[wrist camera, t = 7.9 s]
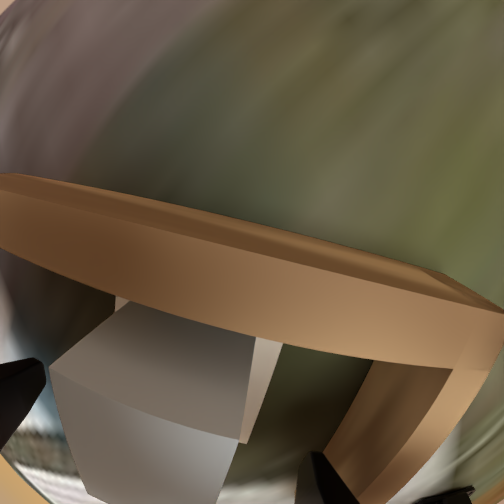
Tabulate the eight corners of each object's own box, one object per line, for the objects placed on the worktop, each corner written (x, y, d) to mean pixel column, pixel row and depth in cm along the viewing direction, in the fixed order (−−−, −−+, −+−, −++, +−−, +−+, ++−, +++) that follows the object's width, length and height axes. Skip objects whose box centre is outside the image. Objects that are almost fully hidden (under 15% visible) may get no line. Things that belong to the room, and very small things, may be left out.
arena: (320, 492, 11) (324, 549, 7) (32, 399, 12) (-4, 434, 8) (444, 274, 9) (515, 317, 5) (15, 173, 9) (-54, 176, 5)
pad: (247, 440, 11) (246, 443, 10) (117, 400, 11) (116, 403, 11) (287, 326, 9) (287, 328, 9) (119, 279, 10) (116, 281, 9)
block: (258, 323, 9) (239, 440, 4) (224, 439, 10) (202, 535, 6) (142, 291, 9) (48, 367, 4) (136, 412, 11) (87, 493, 6)
